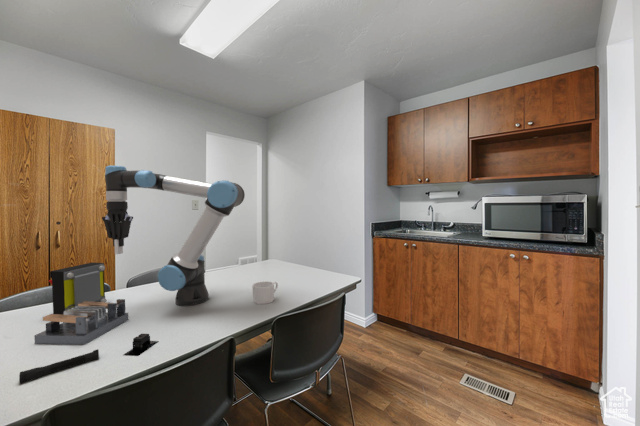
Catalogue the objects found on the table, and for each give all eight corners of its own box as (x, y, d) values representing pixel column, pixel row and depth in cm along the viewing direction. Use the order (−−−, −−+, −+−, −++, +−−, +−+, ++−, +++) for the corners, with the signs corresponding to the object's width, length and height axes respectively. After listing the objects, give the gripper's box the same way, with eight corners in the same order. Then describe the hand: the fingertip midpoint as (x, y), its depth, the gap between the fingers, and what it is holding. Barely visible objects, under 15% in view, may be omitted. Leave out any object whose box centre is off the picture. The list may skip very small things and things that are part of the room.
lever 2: (117, 306, 110) (117, 303, 110) (111, 309, 107) (111, 306, 107) (84, 303, 111) (84, 301, 111) (77, 306, 108) (78, 303, 108)
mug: (259, 306, 126) (259, 289, 125) (249, 300, 134) (248, 284, 133) (283, 299, 135) (283, 283, 134) (272, 294, 142) (272, 279, 142)
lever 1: (88, 319, 97) (88, 316, 97) (80, 323, 94) (80, 320, 94) (51, 317, 98) (51, 313, 98) (42, 320, 95) (42, 317, 95)
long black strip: (20, 380, 74) (20, 370, 74) (98, 356, 85) (97, 347, 85) (19, 386, 72) (19, 375, 72) (99, 360, 83) (98, 351, 83)
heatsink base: (128, 319, 112) (127, 298, 112) (83, 344, 92) (82, 318, 92) (87, 319, 113) (86, 298, 113) (34, 343, 93) (33, 318, 93)
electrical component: (68, 318, 114) (66, 272, 114) (49, 316, 116) (48, 271, 116) (108, 303, 131) (107, 263, 131) (91, 302, 133) (90, 262, 133)
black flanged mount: (146, 339, 96) (146, 327, 96) (165, 340, 95) (164, 328, 95) (116, 359, 84) (115, 345, 84) (137, 361, 83) (136, 346, 83)
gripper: (137, 201, 122) (139, 252, 123) (110, 201, 123) (111, 252, 124) (124, 200, 115) (126, 255, 116) (95, 201, 116) (97, 255, 116)
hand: (118, 253), depth 120 cm, fingers closed
